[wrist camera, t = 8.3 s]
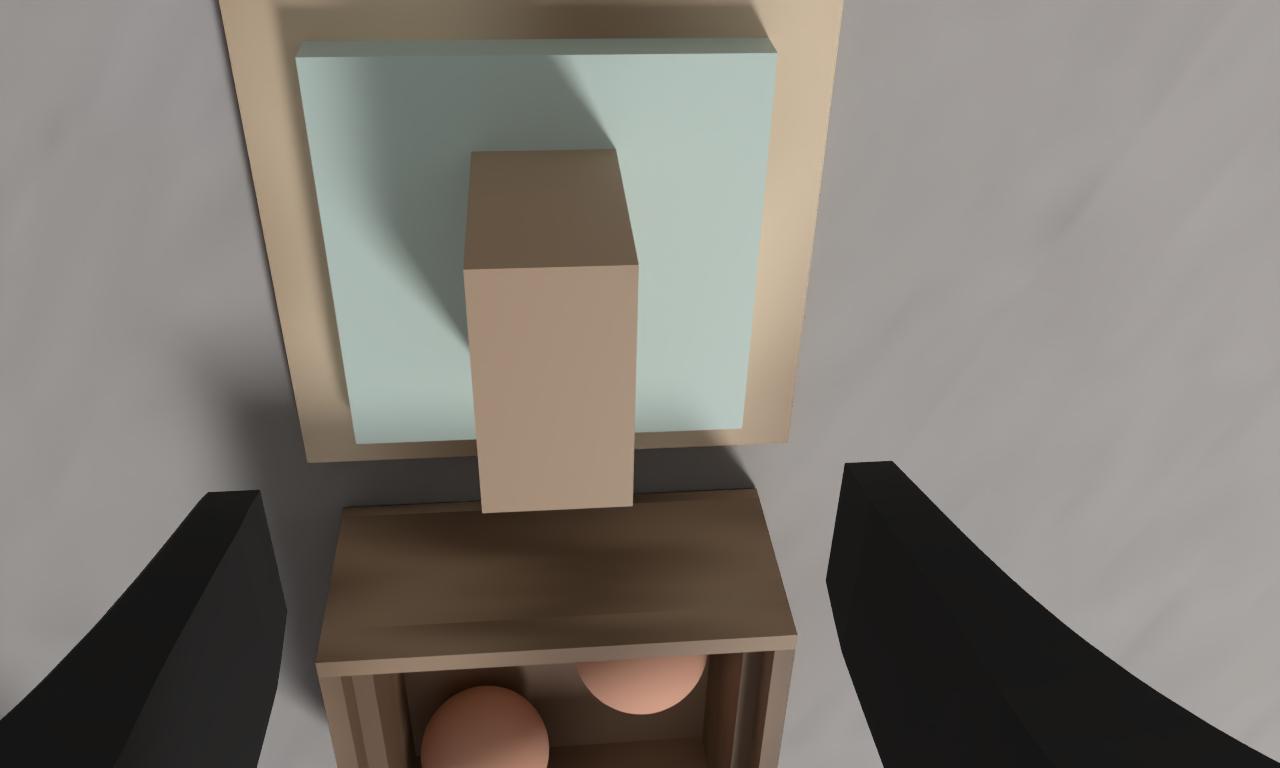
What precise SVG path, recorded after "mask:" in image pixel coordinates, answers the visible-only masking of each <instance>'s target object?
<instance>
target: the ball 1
mask: <svg viewBox="0 0 1280 768" xmlns="http://www.w3.org/2000/svg"><path fill="white" fill-rule="evenodd" d="M548 759H549V741H548V735H547V731H546V728H545V725H544V723H543V720H542V718H541V717H540V715H539V713H538V712H537V710H536V709H535V708H534V707H533V705H532V704H531V703H530V702H529V701H527V700H526V699H525V698H524V697H522V696H521V695H519V694H518V693H516V692H514V691H512V690H509V689H507V688H503V687H498V686H477V687H472V688H469V689H466V690H463V691H461V692H459V693H457V694H455V695H454V696H452V697H451V698H449V699H448V700H447V701H446V702H444V703H443V704H442V705H441V706H440V707H439V708H438V710H437V711H436V712H435V713H434V715H433V716H432V718H431V719H430V721H429V723H428V725H427V727H426V730H425V733H424V736H423V740H422V746H421V766H422V768H547V764H548Z"/></svg>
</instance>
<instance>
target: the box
mask: <svg viewBox="0 0 1280 768" xmlns="http://www.w3.org/2000/svg"><path fill="white" fill-rule="evenodd" d="M796 641H797V632H796V628H795V625H794V621H793V617H792V614H791V610H790V607H789V603H788V600H787V596H786V592H785V589H784V585H783V582H782V578H781V575H780V571H779V567H778V564H777V560H776V557H775V553H774V550H773V546H772V542H771V539H770V535H769V532H768V528H767V525H766V521H765V517H764V514H763V510H762V507H761V503H760V500H759V496H758V493H757V489H738V490H717V491H695V492H673V493H651V494H633V506H626V507H605V508H584V509H562V510H541V511H520V512H498V513H482V505H481V501H477V502H455V503H434V504H412V505H390V506H368V507H347V508H344V509H343V515H342V520H341V525H340V531H339V536H338V542H337V547H336V553H335V558H334V564H333V569H332V575H331V580H330V585H329V591H328V596H327V602H326V607H325V613H324V618H323V624H322V629H321V635H320V640H319V646H318V651H317V656H316V662H315V664H316V669H317V674H318V678H319V683H320V687H321V692H322V697H323V701H324V706H325V711H326V715H327V720H328V725H329V729H330V734H331V739H332V743H333V748H334V753H335V757H336V762H337V767H338V768H422V766H421V746H422V740H423V736H424V733H425V730H426V727H427V725H428V723H429V721H430V719H431V718H432V716H433V715H434V713H435V712H436V711H437V710H438V708H439V707H440V706H441V705H442V704H443V703H444V702H446V701H447V700H448V699H449V698H451V697H452V696H454V695H455V694H457V693H459V692H461V691H463V690H466V689H469V688H472V687H477V686H498V687H503V688H507V689H509V690H512V691H514V692H516V693H518V694H519V695H521V696H522V697H524V698H525V699H526V700H527V701H529V702H530V703H531V704H532V705H533V707H534V708H535V709H536V710H537V712H538V713H539V715H540V717H541V718H542V720H543V723H544V725H545V728H546V731H547V735H548V741H549V759H548V764H547V768H777V767H778V760H779V754H780V747H781V740H782V734H783V727H784V720H785V714H786V707H787V701H788V694H789V687H790V681H791V674H792V668H793V661H794V654H795V648H796ZM691 655H707V660H706V665H705V668H704V670H703V673H702V675H701V677H700V679H699V681H698V682H697V684H696V685H695V687H694V688H693V689H692V691H691V692H690V693H689V694H688V695H687V696H686V697H685V698H684V699H682V700H681V701H680V702H678V703H677V704H675V705H674V706H672V707H670V708H667V709H665V710H663V711H660V712H656V713H651V714H631V713H625V712H621V711H618V710H616V709H613V708H612V707H610V706H608V705H606V704H604V703H603V702H601V701H600V700H599V699H598V698H596V697H595V696H594V695H593V694H592V693H591V692H590V690H589V689H588V688H587V687H586V685H585V684H584V682H583V680H582V679H581V677H580V675H579V673H578V670H577V667H576V664H575V662H590V661H607V660H624V659H641V658H657V657H674V656H691Z"/></svg>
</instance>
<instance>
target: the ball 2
mask: <svg viewBox="0 0 1280 768" xmlns="http://www.w3.org/2000/svg"><path fill="white" fill-rule="evenodd" d="M706 660H707V655H691V656H674V657H657V658H641V659H624V660H607V661H590V662H575V664H576V667H577V670H578V673H579V675H580V677H581V679H582V680H583V682H584V684H585V685H586V687H587V688H588V689H589V690H590V692H591V693H592V694H593V695H594V696H595V697H596V698H598V699H599V700H600V701H601V702H603V703H604V704H606V705H608V706H610V707H612V708H613V709H616V710H618V711H621V712H625V713H631V714H651V713H656V712H660V711H663V710H665V709H667V708H670V707H672V706H674V705H675V704H677V703H678V702H680V701H681V700H682V699H684V698H685V697H686V696H687V695H688V694H689V693H690V692H691V691H692V689H693V688H694V687H695V685H696V684H697V682H698V681H699V679H700V677H701V675H702V673H703V670H704V668H705V665H706Z"/></svg>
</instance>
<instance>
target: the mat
mask: <svg viewBox="0 0 1280 768" xmlns="http://www.w3.org/2000/svg"><path fill="white" fill-rule="evenodd" d="M843 2H844V0H219V4H220V9H221V14H222V19H223V24H224V30H225V35H226V40H227V45H228V51H229V56H230V61H231V66H232V71H233V77H234V82H235V87H236V92H237V98H238V103H239V108H240V113H241V118H242V124H243V129H244V134H245V139H246V145H247V150H248V155H249V160H250V165H251V171H252V176H253V181H254V186H255V192H256V197H257V202H258V207H259V212H260V218H261V223H262V228H263V233H264V239H265V244H266V249H267V254H268V259H269V265H270V270H271V275H272V280H273V286H274V291H275V296H276V301H277V306H278V312H279V317H280V322H281V327H282V333H283V338H284V343H285V348H286V353H287V359H288V364H289V369H290V374H291V380H292V385H293V390H294V395H295V400H296V406H297V411H298V416H299V421H300V427H301V432H302V437H303V442H304V447H305V453H306V458H307V463H322V462H345V461H369V460H393V459H416V458H440V457H464V456H478V453H477V440H476V439H471V440H446V441H422V442H397V443H373V444H356V440H355V434H354V428H353V421H352V415H351V409H350V402H349V396H348V389H347V383H346V377H345V370H344V364H343V358H342V351H341V345H340V339H339V332H338V326H337V319H336V313H335V307H334V300H333V294H332V288H331V281H330V275H329V269H328V262H327V256H326V250H325V243H324V237H323V230H322V224H321V218H320V211H319V205H318V199H317V192H316V186H315V180H314V173H313V167H312V160H311V154H310V148H309V141H308V135H307V129H306V122H305V116H304V110H303V103H302V97H301V91H300V84H299V78H298V71H297V65H296V59H295V57H296V55H297V53H298V51H299V49H300V46H301V44H302V42H303V41H361V40H487V39H614V38H740V37H769V39H770V41H771V42H772V44H773V46H774V47H775V49H776V51H777V52H778V57H777V67H776V78H775V88H774V99H773V110H772V120H771V131H770V141H769V152H768V162H767V173H766V183H765V194H764V204H763V215H762V225H761V236H760V246H759V257H758V267H757V278H756V288H755V299H754V310H753V320H752V331H751V341H750V352H749V362H748V373H747V383H746V394H745V404H744V415H743V425H742V428H740V429H716V430H691V431H667V432H642V433H635V438H634V449H653V448H677V447H701V446H725V445H748V444H772V443H788V439H789V431H790V423H791V415H792V407H793V399H794V391H795V383H796V375H797V367H798V359H799V351H800V343H801V335H802V328H803V320H804V312H805V304H806V296H807V288H808V280H809V272H810V264H811V256H812V248H813V240H814V232H815V224H816V216H817V208H818V200H819V193H820V185H821V177H822V169H823V161H824V153H825V145H826V137H827V129H828V121H829V113H830V105H831V97H832V89H833V81H834V73H835V65H836V57H837V50H838V42H839V34H840V26H841V18H842V10H843Z"/></svg>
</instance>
